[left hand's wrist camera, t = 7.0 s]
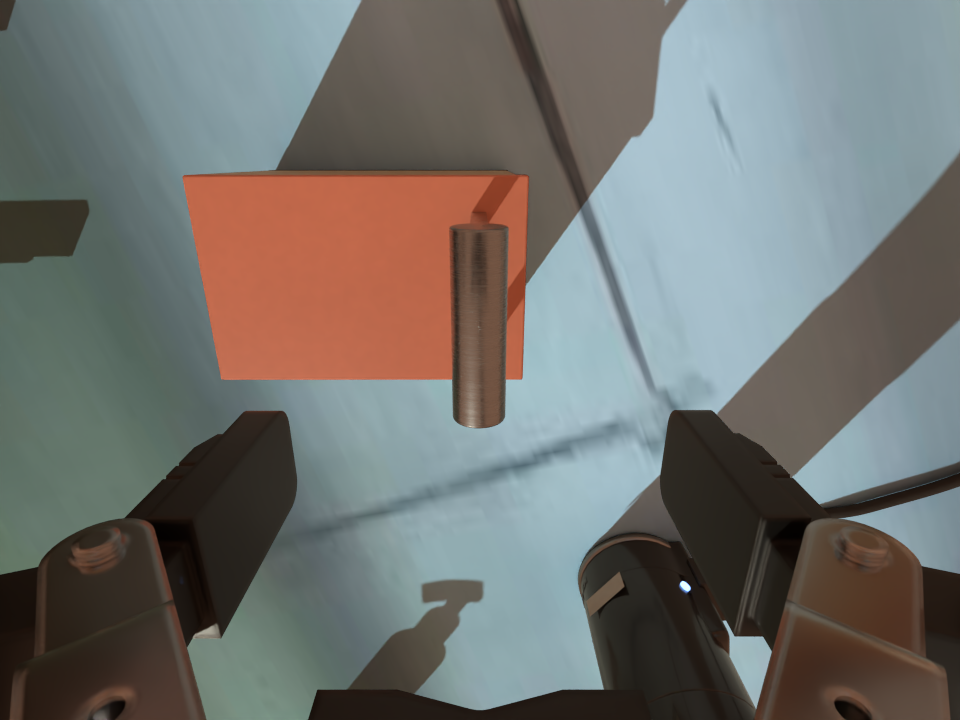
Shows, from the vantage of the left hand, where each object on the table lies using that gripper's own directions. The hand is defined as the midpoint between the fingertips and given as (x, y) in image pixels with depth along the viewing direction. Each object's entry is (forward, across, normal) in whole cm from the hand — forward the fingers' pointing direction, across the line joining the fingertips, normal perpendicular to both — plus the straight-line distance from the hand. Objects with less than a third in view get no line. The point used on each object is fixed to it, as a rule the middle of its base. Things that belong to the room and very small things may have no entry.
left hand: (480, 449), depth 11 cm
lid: (+17, -6, 0) cm, 17 cm away
